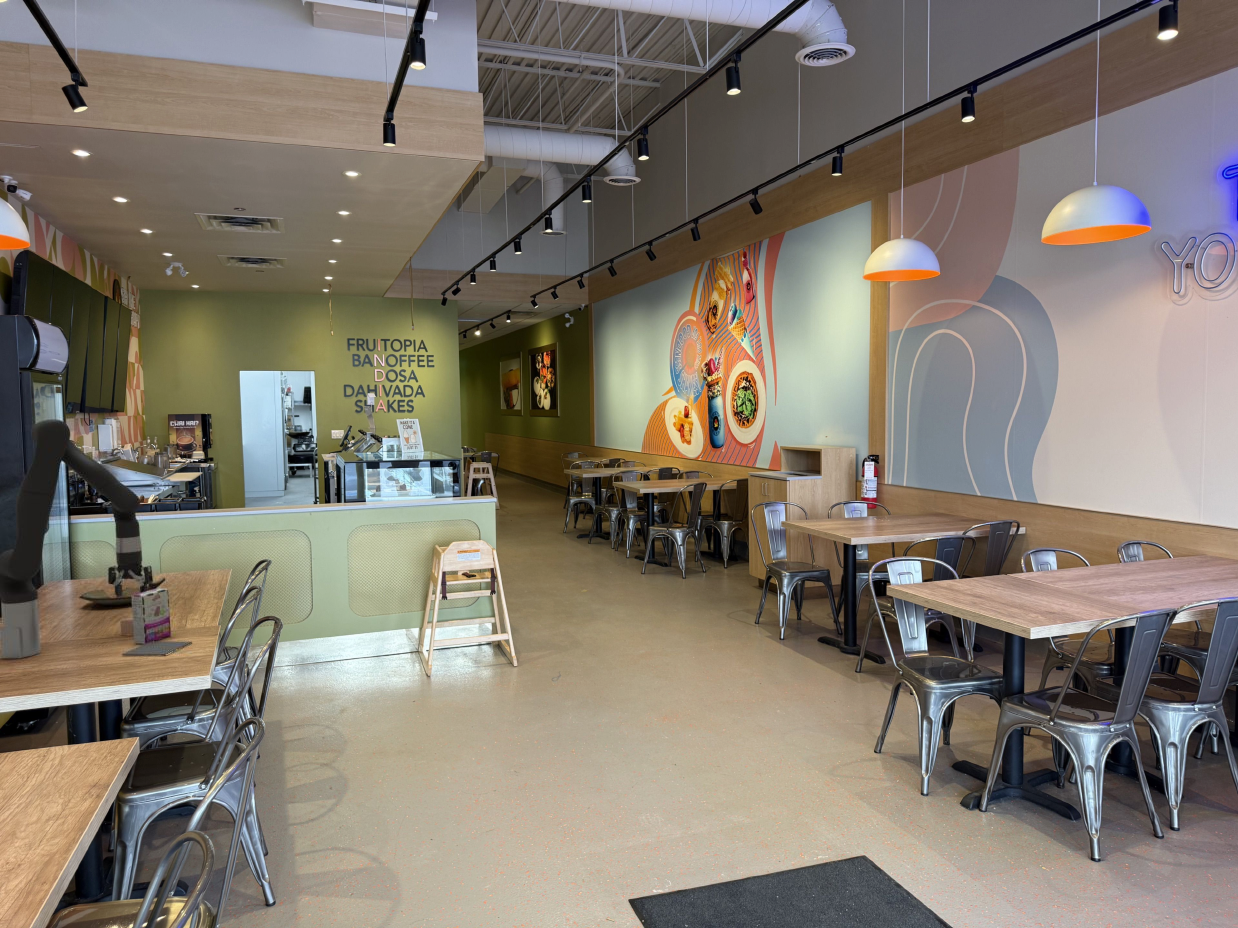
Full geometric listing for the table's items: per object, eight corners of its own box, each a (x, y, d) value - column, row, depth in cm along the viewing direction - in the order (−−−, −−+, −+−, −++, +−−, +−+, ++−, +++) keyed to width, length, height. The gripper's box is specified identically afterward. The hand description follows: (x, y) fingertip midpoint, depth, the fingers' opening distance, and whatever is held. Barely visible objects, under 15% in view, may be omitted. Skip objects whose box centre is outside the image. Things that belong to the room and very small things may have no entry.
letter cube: (135, 635, 271) (134, 619, 270) (120, 635, 271) (120, 619, 271) (144, 631, 276) (143, 616, 275) (130, 631, 276) (129, 616, 276)
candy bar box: (158, 635, 270) (156, 587, 269) (171, 635, 269) (169, 588, 268) (132, 644, 259) (130, 594, 258) (145, 644, 258) (143, 595, 257)
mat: (165, 656, 246) (165, 654, 246) (122, 655, 246) (122, 653, 246) (192, 643, 260) (191, 641, 260) (150, 643, 260) (150, 641, 260)
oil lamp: (80, 602, 320) (79, 584, 320) (165, 593, 337) (164, 575, 336) (78, 614, 302) (77, 594, 301) (168, 603, 318) (168, 584, 317)
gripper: (101, 551, 268) (104, 598, 269) (142, 551, 268) (144, 598, 269) (116, 547, 276) (118, 593, 277) (155, 547, 275) (158, 593, 276)
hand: (131, 596), depth 273 cm, fingers open, 8 cm apart
